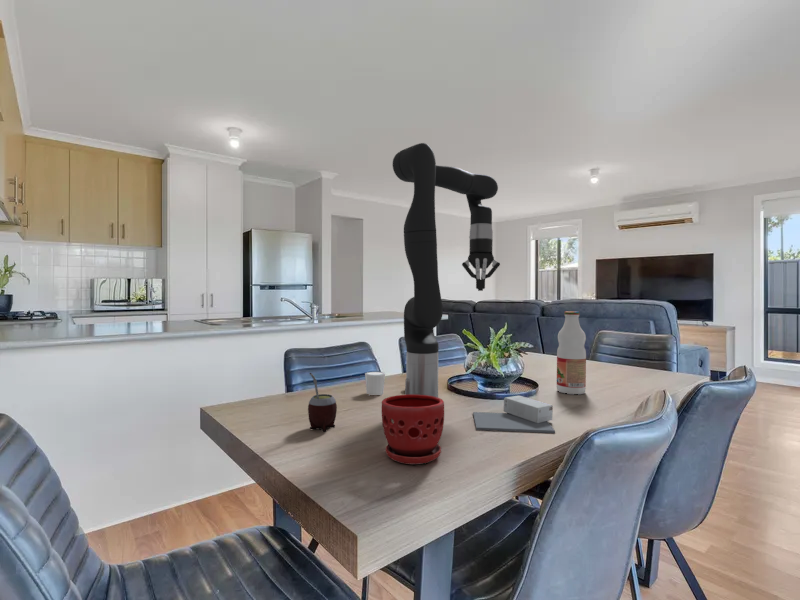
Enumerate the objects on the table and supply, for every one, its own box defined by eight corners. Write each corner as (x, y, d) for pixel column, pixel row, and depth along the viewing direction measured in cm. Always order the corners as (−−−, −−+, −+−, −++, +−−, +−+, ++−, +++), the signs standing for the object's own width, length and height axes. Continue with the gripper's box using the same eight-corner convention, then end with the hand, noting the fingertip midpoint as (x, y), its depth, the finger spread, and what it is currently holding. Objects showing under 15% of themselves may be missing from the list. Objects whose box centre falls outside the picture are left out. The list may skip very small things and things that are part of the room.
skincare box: (503, 412, 121) (536, 425, 110) (503, 396, 120) (537, 408, 110) (518, 409, 124) (552, 421, 113) (519, 393, 123) (553, 405, 113)
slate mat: (476, 429, 107) (476, 427, 107) (473, 414, 121) (473, 411, 121) (554, 433, 105) (554, 430, 105) (542, 416, 119) (542, 414, 119)
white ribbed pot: (389, 393, 145) (389, 372, 145) (377, 397, 139) (377, 376, 139) (372, 390, 149) (372, 370, 149) (360, 394, 143) (360, 373, 143)
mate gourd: (333, 422, 112) (333, 365, 112) (340, 431, 105) (340, 370, 105) (304, 425, 110) (304, 367, 109) (309, 435, 102) (309, 372, 102)
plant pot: (456, 455, 90) (456, 398, 90) (416, 475, 80) (416, 411, 80) (409, 440, 99) (409, 389, 99) (368, 456, 89) (368, 399, 89)
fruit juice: (580, 396, 142) (581, 312, 142) (552, 392, 148) (553, 311, 148) (589, 391, 149) (590, 311, 149) (562, 387, 155) (563, 310, 155)
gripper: (461, 237, 139) (460, 290, 140) (502, 237, 138) (502, 290, 138) (460, 240, 147) (460, 290, 147) (499, 239, 145) (499, 290, 146)
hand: (480, 290), depth 143 cm, fingers closed
